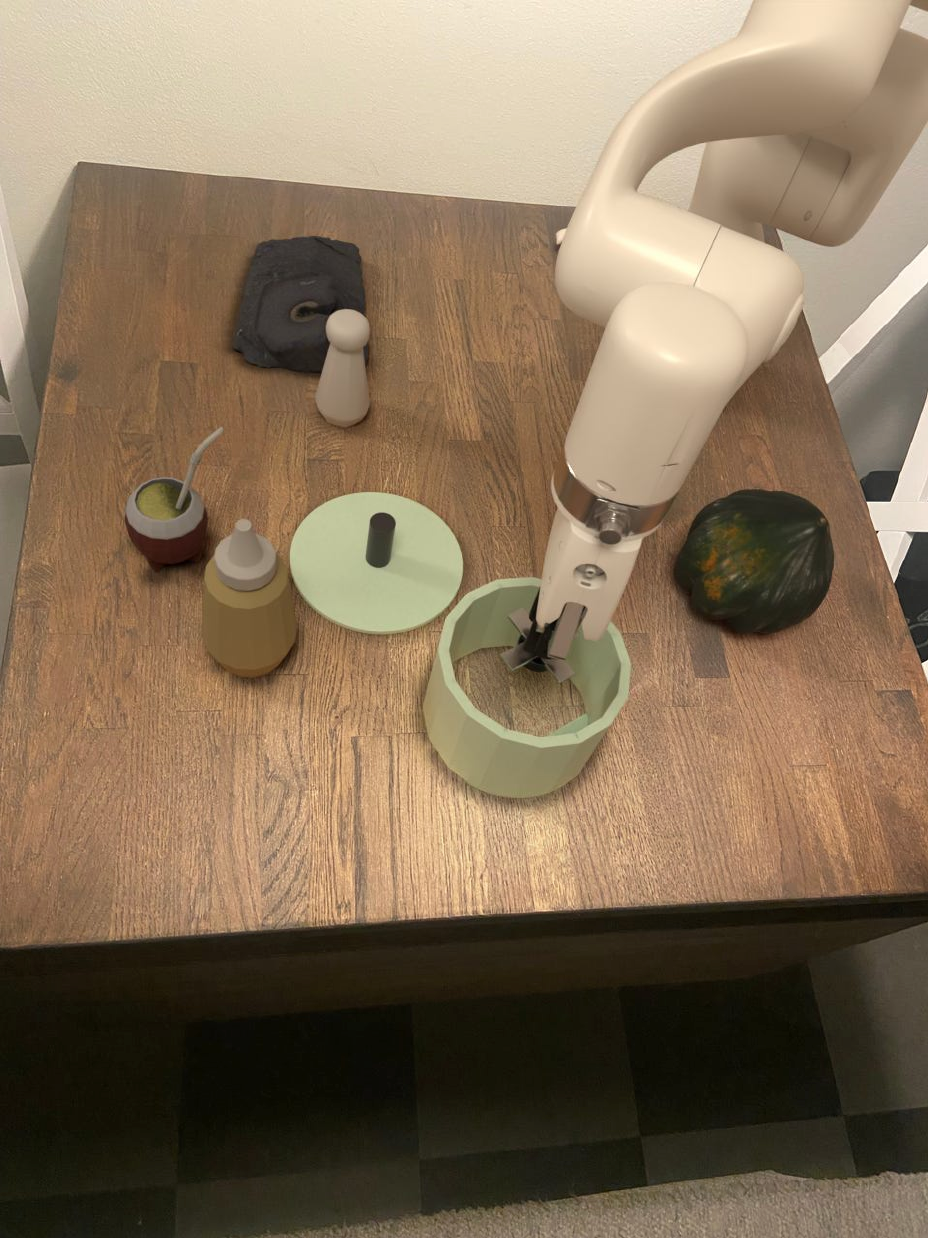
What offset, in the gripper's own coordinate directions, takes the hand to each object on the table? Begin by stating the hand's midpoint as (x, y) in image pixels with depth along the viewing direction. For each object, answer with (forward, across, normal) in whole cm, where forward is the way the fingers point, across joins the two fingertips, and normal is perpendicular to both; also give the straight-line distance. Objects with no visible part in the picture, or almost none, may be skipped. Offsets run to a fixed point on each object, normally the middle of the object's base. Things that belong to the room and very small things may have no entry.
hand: (545, 636), depth 71 cm
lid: (+13, +13, +16) cm, 24 cm away
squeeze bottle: (+14, 0, +24) cm, 28 cm away
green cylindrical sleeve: (+14, 0, 0) cm, 14 cm away
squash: (+14, +21, -20) cm, 32 cm away
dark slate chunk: (+14, +47, +32) cm, 59 cm away
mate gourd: (+14, +9, +34) cm, 38 cm away
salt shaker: (+14, +31, +24) cm, 42 cm away
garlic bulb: (+14, +71, +3) cm, 72 cm away
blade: (+3, 0, 0) cm, 3 cm away
